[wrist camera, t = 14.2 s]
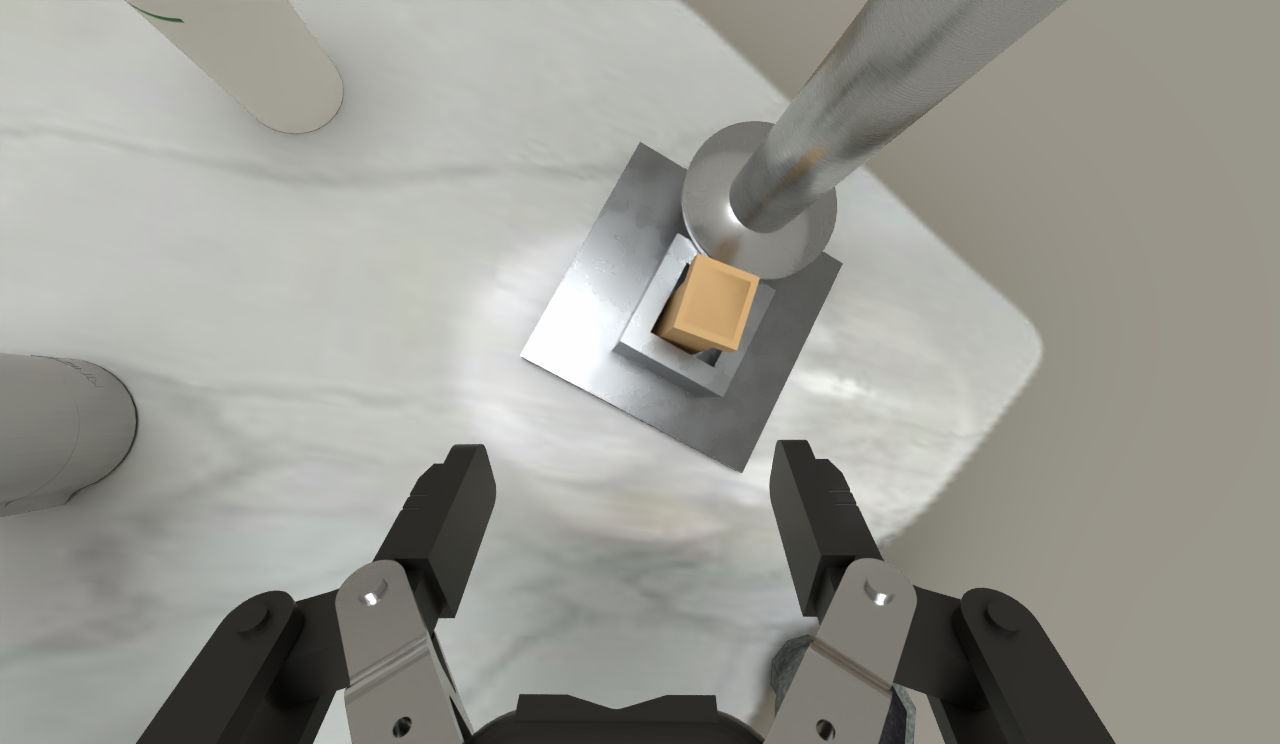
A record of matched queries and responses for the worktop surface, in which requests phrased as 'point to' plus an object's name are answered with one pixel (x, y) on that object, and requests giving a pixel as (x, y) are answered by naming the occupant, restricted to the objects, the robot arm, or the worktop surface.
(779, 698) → the mortar and pestle
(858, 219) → the worktop surface
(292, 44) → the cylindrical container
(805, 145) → the grey fixture with cylinder
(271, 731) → the robot arm
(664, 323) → the orange square peg
